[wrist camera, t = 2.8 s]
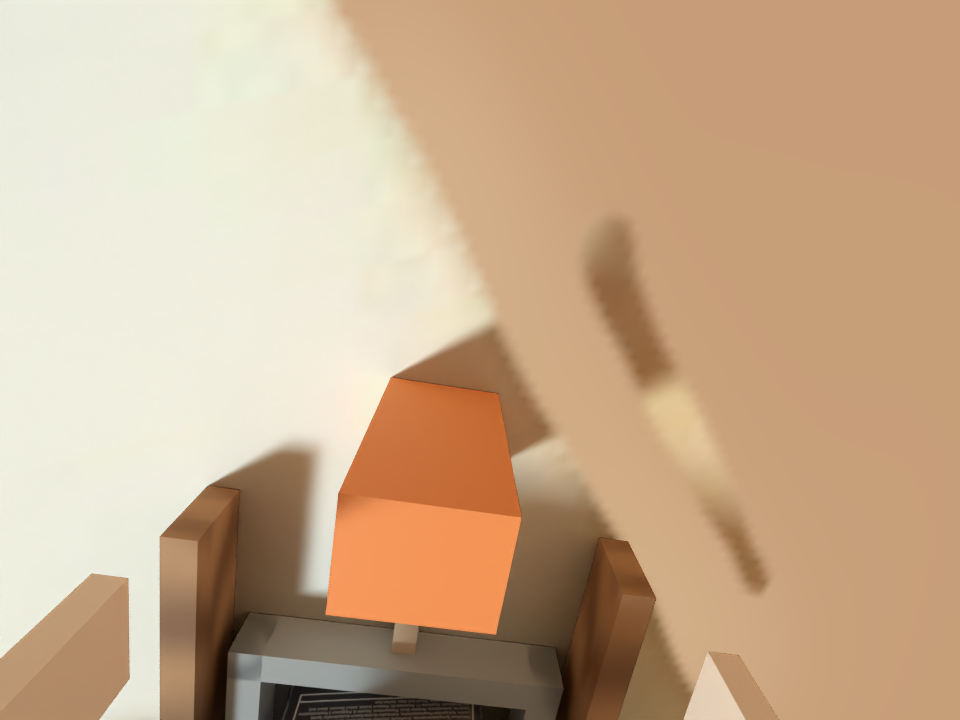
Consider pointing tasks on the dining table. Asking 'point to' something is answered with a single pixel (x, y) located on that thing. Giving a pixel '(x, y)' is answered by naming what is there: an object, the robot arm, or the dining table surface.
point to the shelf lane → (210, 613)
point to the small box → (371, 706)
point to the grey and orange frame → (412, 571)
